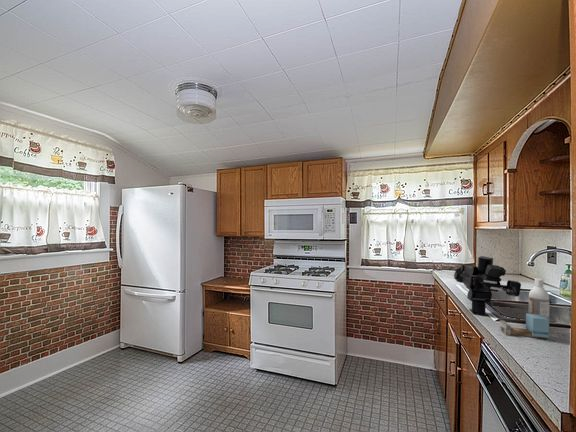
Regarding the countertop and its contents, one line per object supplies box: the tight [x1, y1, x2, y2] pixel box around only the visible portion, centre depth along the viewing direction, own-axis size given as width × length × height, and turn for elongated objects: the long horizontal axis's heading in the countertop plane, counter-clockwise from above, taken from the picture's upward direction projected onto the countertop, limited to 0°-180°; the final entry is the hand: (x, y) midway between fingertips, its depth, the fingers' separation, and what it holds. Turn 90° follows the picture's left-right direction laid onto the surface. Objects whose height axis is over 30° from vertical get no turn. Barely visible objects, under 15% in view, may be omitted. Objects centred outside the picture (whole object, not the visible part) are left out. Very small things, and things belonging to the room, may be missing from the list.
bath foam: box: [528, 277, 550, 320], centre depth 125 cm, size 7×7×20 cm
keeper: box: [525, 313, 550, 339], centre depth 110 cm, size 5×6×7 cm
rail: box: [499, 319, 548, 340], centre depth 111 cm, size 14×6×4 cm, turn 72°
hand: (502, 292), depth 112 cm, fingers open, 9 cm apart
